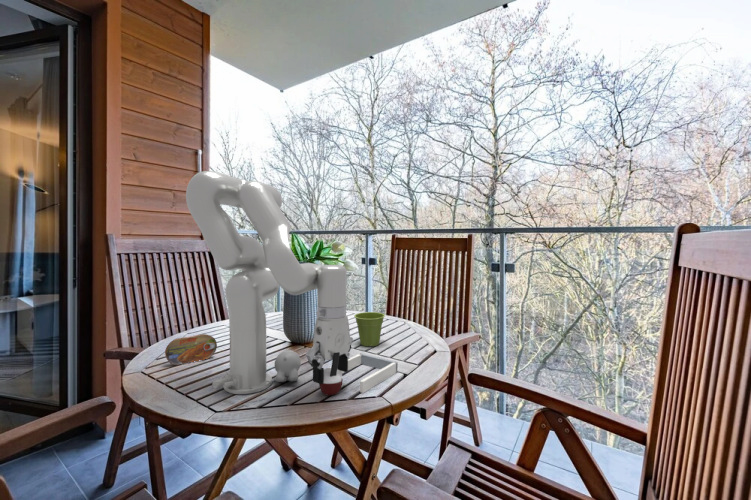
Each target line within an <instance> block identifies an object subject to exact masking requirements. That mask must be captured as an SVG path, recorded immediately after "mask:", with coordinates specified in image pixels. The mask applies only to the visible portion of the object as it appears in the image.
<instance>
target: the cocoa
mask: <svg viewBox="0 0 751 500" xmlns="http://www.w3.org/2000/svg"><path fill="white" fill-rule="evenodd" d="M339 355H340V353H339V352H337V353H334V354H333V359H331V360H332V361H331V366H330V367H331V368H330V367H326V368H324V383H323V384H319V383H318V385H319V389H320V391H321V393H322V394H324V395H325V396H335V395H338V394H339V392H340V391H341V390H342V387H343V373H341V372H340V371H337V368H338V362H339Z"/></svg>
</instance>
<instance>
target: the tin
mask: <svg viewBox="0 0 751 500" xmlns="http://www.w3.org/2000/svg"><path fill="white" fill-rule="evenodd" d="M217 348H218V343H217V340H216V339H215V338H214V336H212V335H210V334H205V333H201V334H195V335H190V336H185V337H179V338H175V339H173V340H172V341H170V342H169V343H168V345H167V346H166V347H165V351H164V355H165V358H166V360H167V361H168V363H169V364H172V365H174V366H178V365H177V364H181V363H187V362H193V363H195V362H194V361H197V362H200V361H199V360H202V361H206V360H208V359H210V358H211V357H213V356H214V354H215V353H216V351H217ZM205 359H206V360H205Z"/></svg>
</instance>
